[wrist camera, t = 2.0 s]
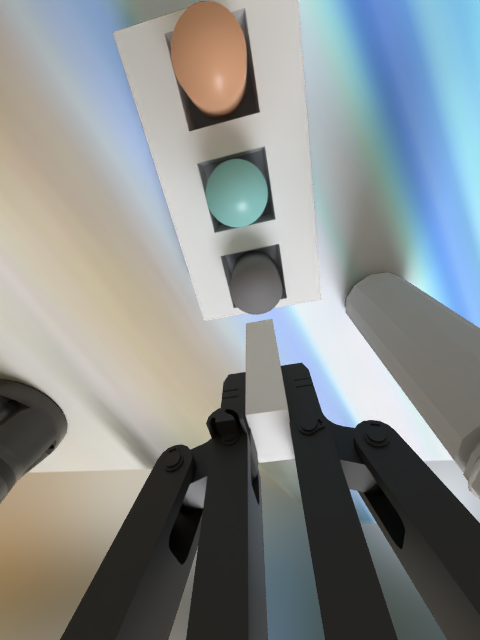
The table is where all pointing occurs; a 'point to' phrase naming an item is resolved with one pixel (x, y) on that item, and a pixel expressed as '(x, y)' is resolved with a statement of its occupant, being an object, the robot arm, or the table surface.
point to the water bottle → (426, 360)
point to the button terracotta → (210, 58)
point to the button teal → (236, 193)
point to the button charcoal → (255, 283)
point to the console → (232, 151)
